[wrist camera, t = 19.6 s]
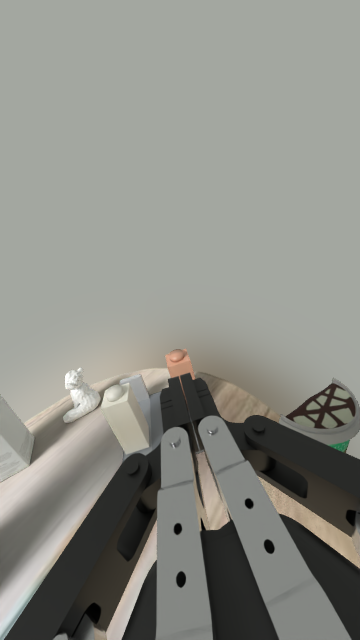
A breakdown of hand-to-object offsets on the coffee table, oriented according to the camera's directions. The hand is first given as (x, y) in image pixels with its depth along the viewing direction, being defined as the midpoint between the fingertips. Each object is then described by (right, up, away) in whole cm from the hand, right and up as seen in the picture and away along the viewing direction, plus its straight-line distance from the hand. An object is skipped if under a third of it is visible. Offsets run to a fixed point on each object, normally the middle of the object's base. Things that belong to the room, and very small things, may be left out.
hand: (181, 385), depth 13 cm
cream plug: (-8, -20, +27) cm, 34 cm away
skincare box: (-36, -27, +31) cm, 55 cm away
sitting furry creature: (-25, -19, +41) cm, 52 cm away
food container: (+23, -17, +18) cm, 34 cm away
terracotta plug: (+2, -14, +32) cm, 36 cm away
